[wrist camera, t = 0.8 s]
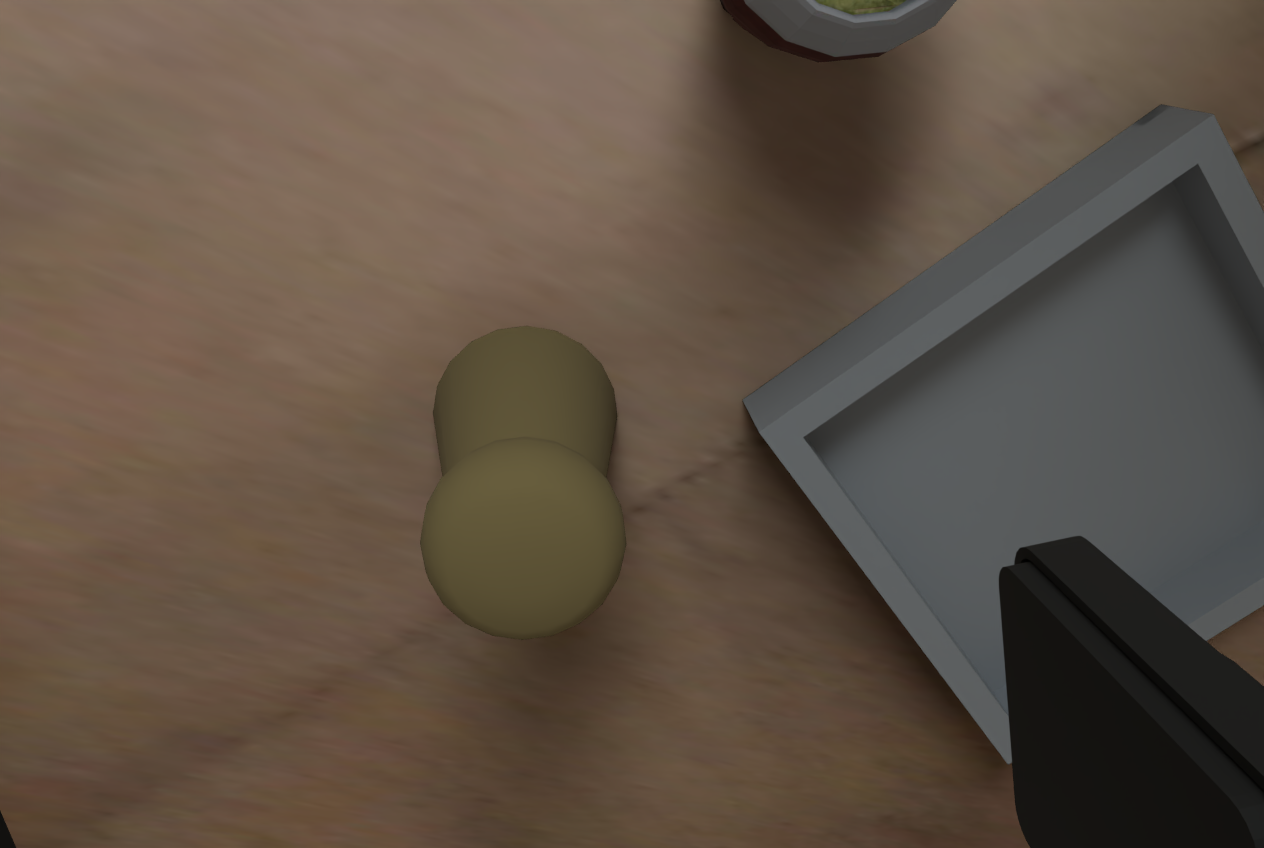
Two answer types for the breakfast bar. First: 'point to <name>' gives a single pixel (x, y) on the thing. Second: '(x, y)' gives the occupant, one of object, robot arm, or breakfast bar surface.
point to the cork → (524, 485)
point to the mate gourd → (836, 24)
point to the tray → (1053, 403)
